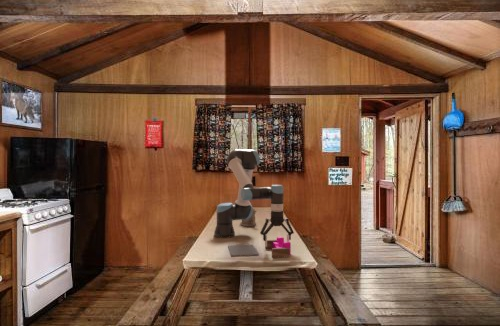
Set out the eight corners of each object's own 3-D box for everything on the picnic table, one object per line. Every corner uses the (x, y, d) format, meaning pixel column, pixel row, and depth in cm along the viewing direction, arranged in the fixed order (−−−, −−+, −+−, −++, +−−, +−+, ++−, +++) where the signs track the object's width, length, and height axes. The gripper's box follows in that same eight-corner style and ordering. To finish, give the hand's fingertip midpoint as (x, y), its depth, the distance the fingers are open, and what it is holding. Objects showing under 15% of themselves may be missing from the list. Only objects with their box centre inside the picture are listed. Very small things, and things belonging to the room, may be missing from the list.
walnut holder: (265, 247, 207) (265, 240, 207) (280, 247, 208) (280, 239, 208) (272, 257, 186) (272, 249, 186) (289, 257, 187) (289, 248, 187)
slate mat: (228, 246, 210) (228, 245, 210) (252, 245, 212) (252, 244, 212) (231, 256, 188) (231, 255, 188) (258, 255, 190) (258, 254, 190)
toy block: (272, 249, 205) (272, 237, 205) (282, 248, 206) (282, 236, 206) (280, 256, 190) (280, 243, 190) (290, 255, 192) (290, 242, 192)
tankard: (238, 223, 283) (238, 206, 283) (251, 222, 288) (251, 205, 288) (248, 228, 265) (248, 209, 265) (261, 227, 270) (262, 209, 270)
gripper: (257, 211, 191) (257, 248, 191) (298, 211, 195) (298, 246, 195) (255, 210, 199) (255, 244, 199) (295, 209, 202) (295, 243, 202)
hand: (277, 245), depth 197 cm, fingers open, 13 cm apart
